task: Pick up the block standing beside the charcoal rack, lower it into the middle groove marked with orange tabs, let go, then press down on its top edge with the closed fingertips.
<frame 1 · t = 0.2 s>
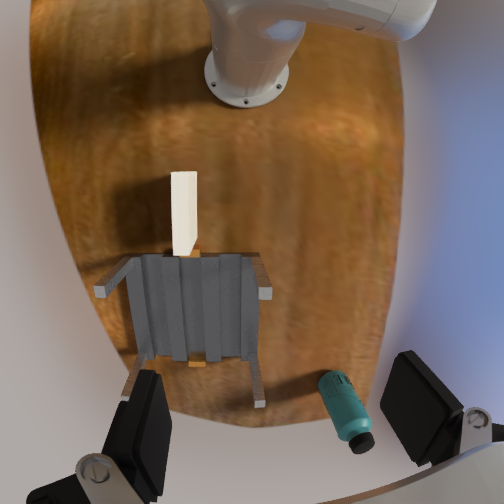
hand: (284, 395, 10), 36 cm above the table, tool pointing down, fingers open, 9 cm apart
rack: (194, 307, 47), on the table
beverage bottle: (329, 376, 55), on the table
block: (190, 204, 43), on the table
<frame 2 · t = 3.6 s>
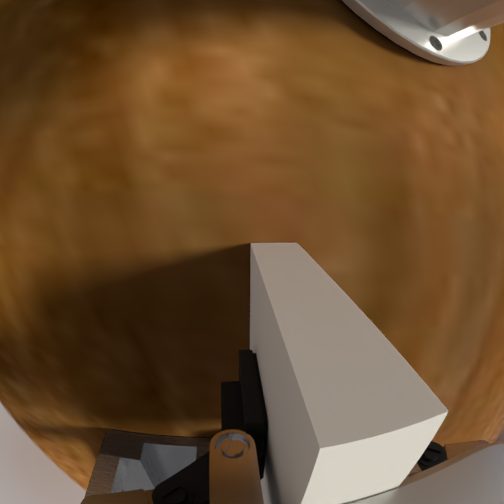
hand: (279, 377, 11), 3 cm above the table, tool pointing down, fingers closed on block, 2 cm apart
rack: (260, 494, 18), on the table
block: (270, 343, 14), on the table, touching gripper
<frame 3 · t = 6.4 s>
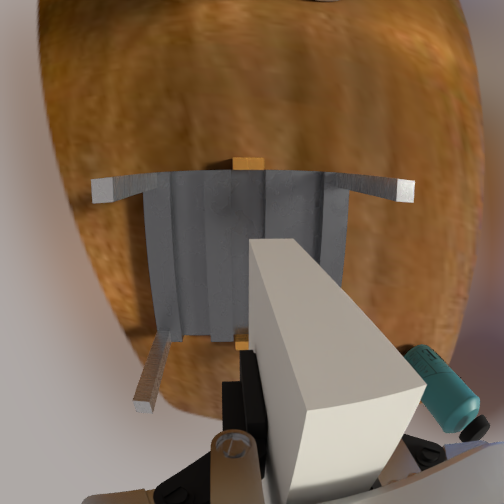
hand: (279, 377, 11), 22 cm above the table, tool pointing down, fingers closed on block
rack: (246, 256, 32), on the table
beverage bottle: (409, 354, 39), on the table
block: (268, 335, 14), point 18 cm above the table, touching gripper
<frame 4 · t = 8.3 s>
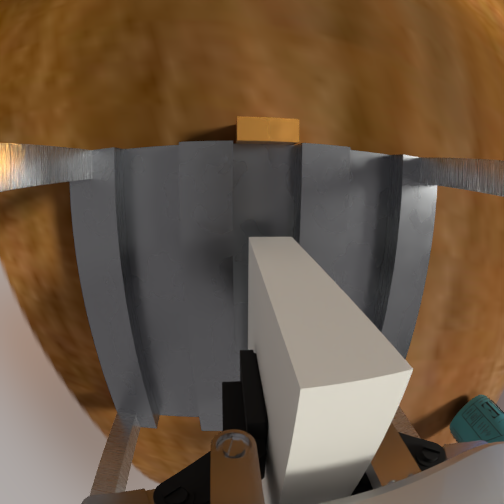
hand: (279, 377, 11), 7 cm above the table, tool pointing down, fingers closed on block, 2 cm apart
rack: (260, 303, 18), on the table
beverage bottle: (461, 405, 25), on the table
block: (267, 330, 15), point 3 cm above the table, touching gripper
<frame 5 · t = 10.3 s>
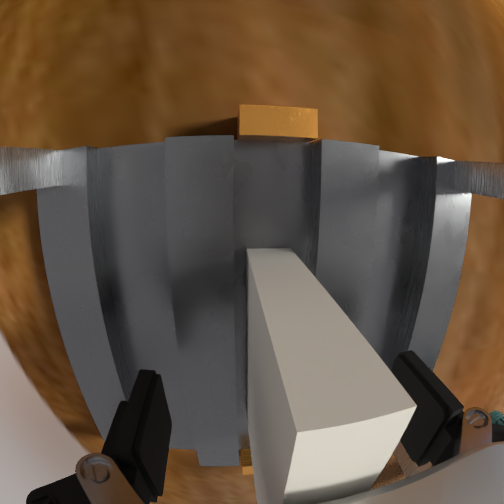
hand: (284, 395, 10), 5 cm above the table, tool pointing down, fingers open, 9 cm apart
rack: (266, 331, 15), on the table
block: (265, 343, 14), point 1 cm above the table, touching rack
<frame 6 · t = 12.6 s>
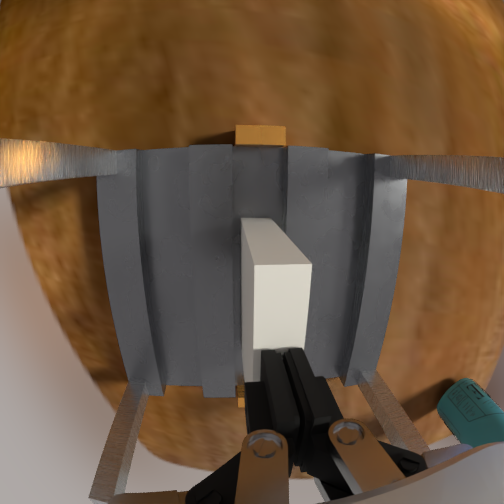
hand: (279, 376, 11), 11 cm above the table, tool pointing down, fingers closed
rack: (255, 280, 22), on the table
beverage bottle: (448, 388, 29), on the table
block: (254, 287, 21), point 1 cm above the table, touching gripper, rack
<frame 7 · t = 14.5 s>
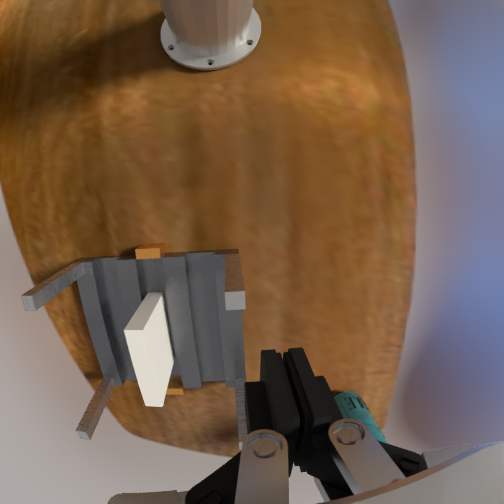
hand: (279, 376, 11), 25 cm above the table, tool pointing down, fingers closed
rack: (163, 323, 37), on the table
beverage bottle: (339, 397, 43), on the table
block: (161, 327, 36), point 1 cm above the table, touching rack
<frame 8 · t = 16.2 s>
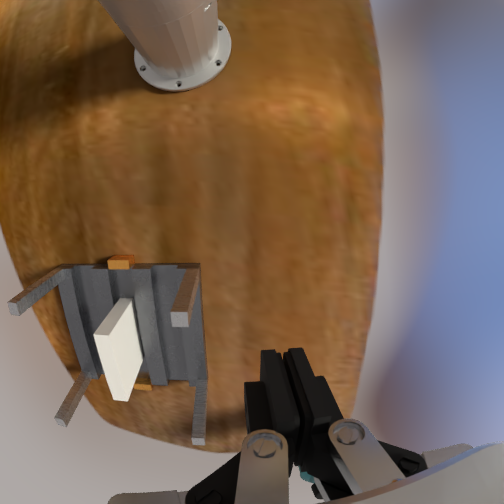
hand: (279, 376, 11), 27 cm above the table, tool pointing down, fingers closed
rack: (133, 325, 39), on the table
block: (132, 329, 39), point 1 cm above the table, touching rack
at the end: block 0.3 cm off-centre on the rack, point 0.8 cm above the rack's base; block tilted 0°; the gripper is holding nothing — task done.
